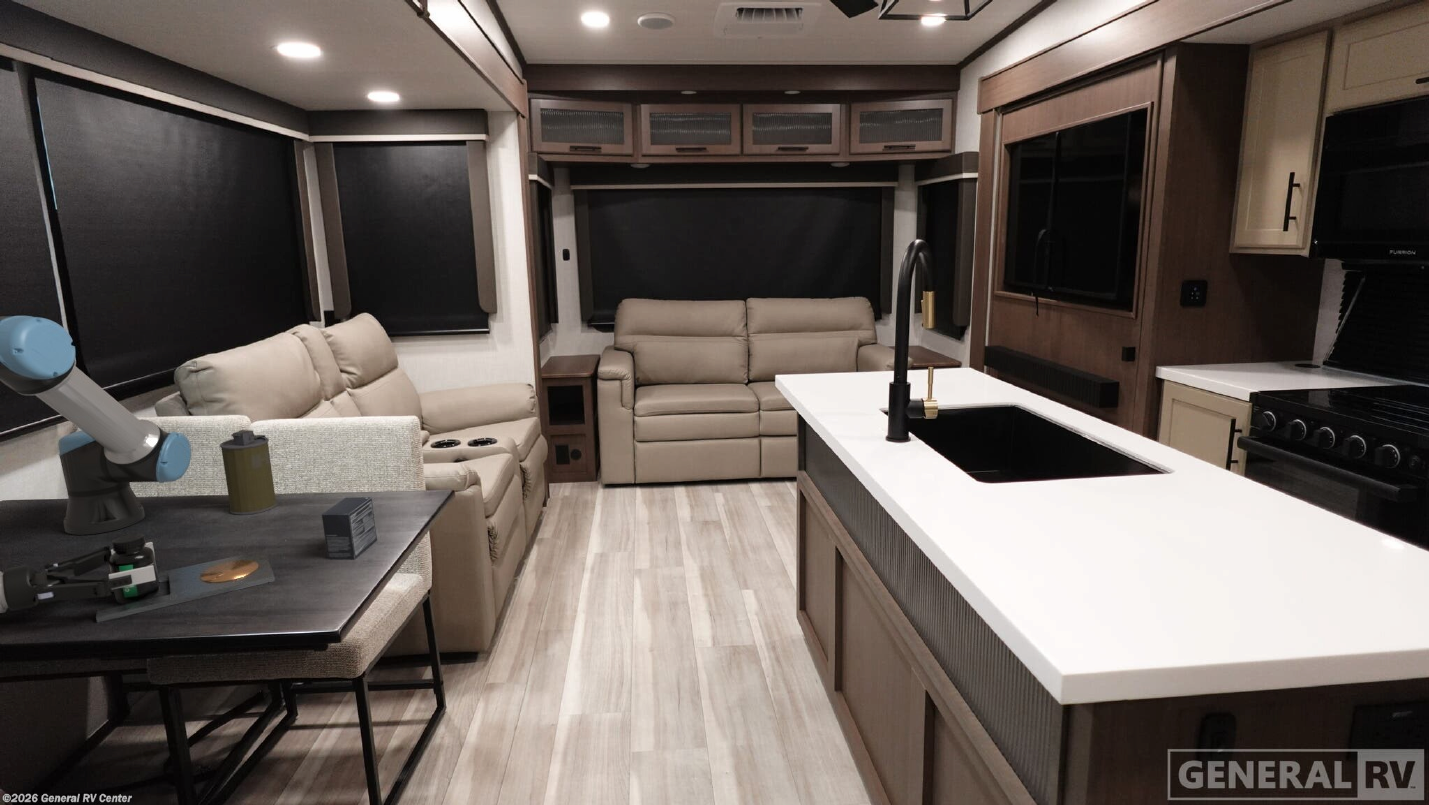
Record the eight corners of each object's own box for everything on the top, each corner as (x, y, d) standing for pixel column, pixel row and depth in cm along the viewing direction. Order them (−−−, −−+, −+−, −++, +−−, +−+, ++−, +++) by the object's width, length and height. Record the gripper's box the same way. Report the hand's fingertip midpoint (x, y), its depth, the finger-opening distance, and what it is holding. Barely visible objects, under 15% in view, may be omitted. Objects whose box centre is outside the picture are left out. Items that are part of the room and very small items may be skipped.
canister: (255, 516, 187) (244, 437, 183) (219, 513, 189) (207, 435, 185) (288, 501, 198) (278, 426, 193) (253, 498, 200) (242, 424, 195)
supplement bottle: (137, 606, 142) (126, 546, 140) (107, 603, 144) (95, 543, 141) (169, 590, 149) (159, 532, 146) (140, 587, 150) (130, 529, 148)
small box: (350, 540, 173) (344, 496, 171) (378, 540, 173) (373, 496, 171) (325, 559, 163) (319, 513, 160) (355, 560, 162) (350, 513, 160)
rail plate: (97, 622, 136) (95, 616, 136) (100, 589, 149) (99, 584, 149) (275, 581, 153) (274, 575, 152) (264, 554, 165) (264, 549, 165)
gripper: (18, 584, 145) (156, 556, 157) (-1, 639, 125) (158, 603, 138) (10, 547, 143) (150, 522, 156) (-10, 597, 124) (151, 564, 136)
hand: (154, 560), depth 147 cm, fingers open, 13 cm apart
